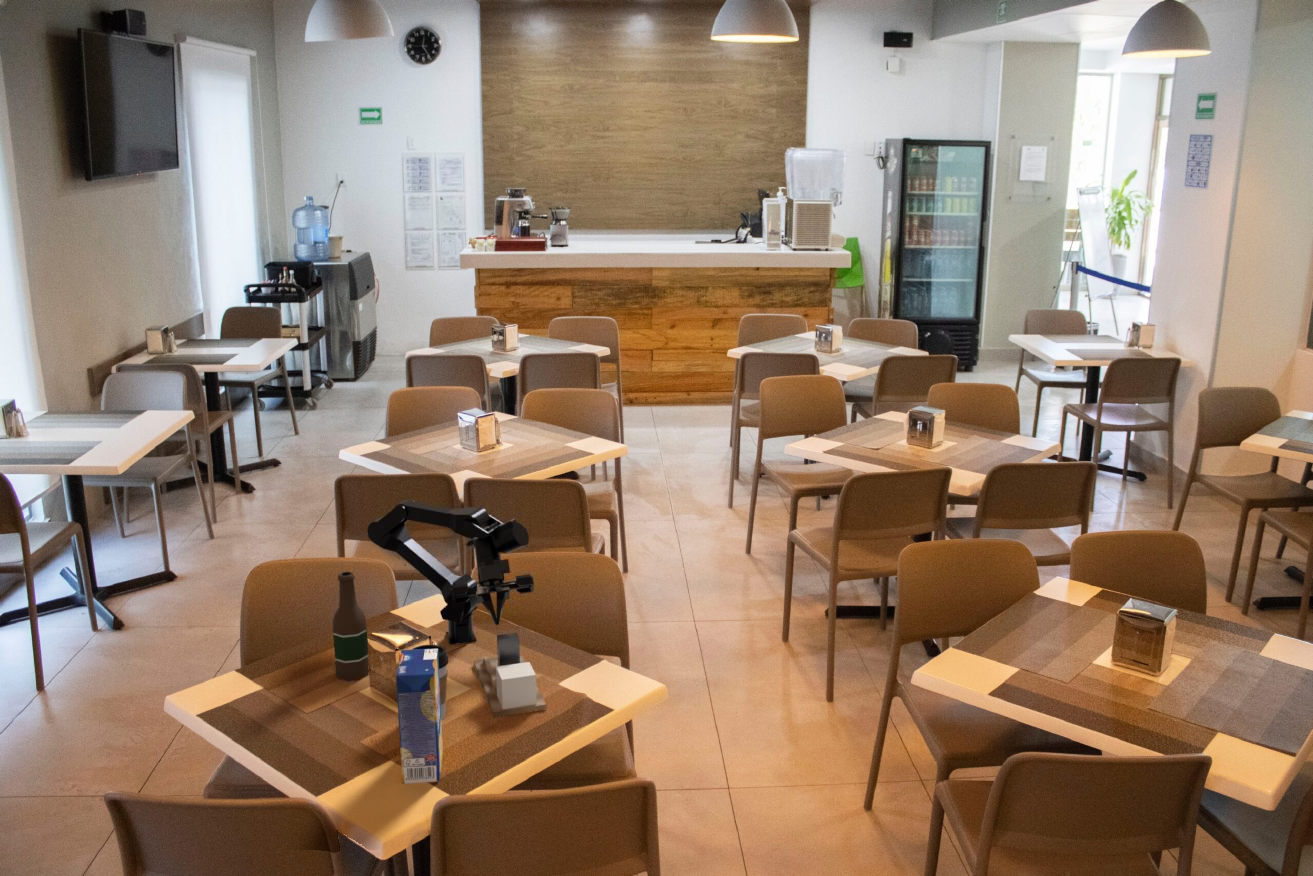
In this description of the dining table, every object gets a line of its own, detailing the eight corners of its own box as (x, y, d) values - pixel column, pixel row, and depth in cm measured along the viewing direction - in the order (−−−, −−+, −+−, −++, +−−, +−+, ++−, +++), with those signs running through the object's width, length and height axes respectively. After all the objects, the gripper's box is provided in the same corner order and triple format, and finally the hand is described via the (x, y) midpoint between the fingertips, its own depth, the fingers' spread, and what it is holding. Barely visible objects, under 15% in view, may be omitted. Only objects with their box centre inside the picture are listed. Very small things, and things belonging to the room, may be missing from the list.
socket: (497, 695, 237) (496, 666, 235) (530, 690, 239) (529, 661, 238) (502, 709, 231) (501, 679, 230) (536, 704, 234) (535, 674, 232)
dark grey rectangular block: (498, 681, 243) (496, 635, 240) (518, 678, 244) (516, 632, 241) (506, 701, 234) (505, 653, 231) (527, 698, 235) (526, 651, 233)
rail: (474, 665, 253) (473, 655, 253) (521, 659, 257) (521, 648, 256) (494, 717, 230) (494, 706, 230) (546, 709, 234) (546, 698, 233)
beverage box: (442, 750, 218) (437, 648, 212) (439, 781, 207) (434, 674, 202) (407, 753, 217) (401, 649, 211) (402, 784, 206) (395, 676, 201)
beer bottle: (375, 666, 253) (369, 567, 246) (363, 682, 245) (356, 581, 239) (342, 664, 253) (335, 566, 247) (329, 680, 246) (321, 579, 240)
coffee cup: (429, 731, 225) (425, 663, 221) (401, 718, 230) (397, 652, 226) (459, 715, 231) (456, 649, 228) (432, 702, 236) (429, 638, 233)
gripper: (445, 554, 248) (453, 621, 242) (528, 542, 252) (538, 608, 245) (448, 570, 258) (456, 635, 252) (528, 558, 262) (538, 622, 255)
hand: (497, 624), depth 251 cm, fingers closed
